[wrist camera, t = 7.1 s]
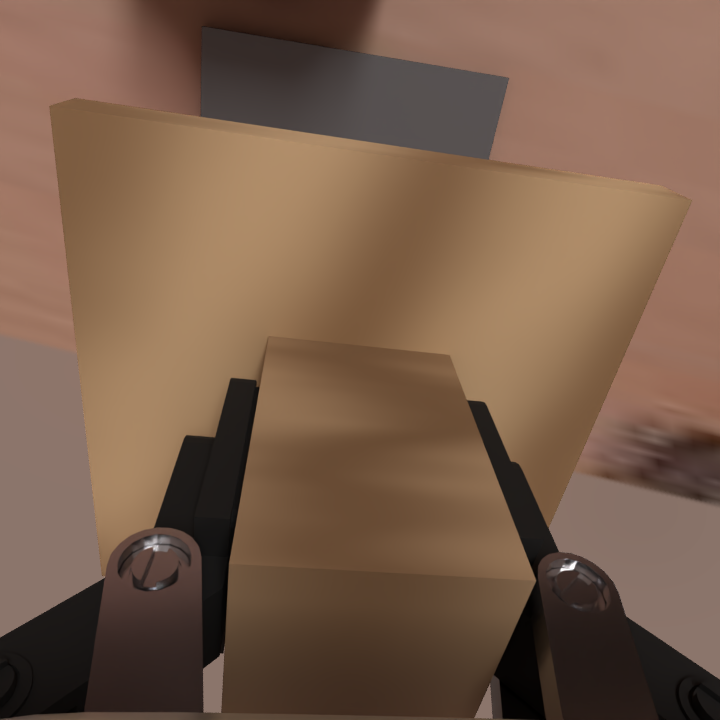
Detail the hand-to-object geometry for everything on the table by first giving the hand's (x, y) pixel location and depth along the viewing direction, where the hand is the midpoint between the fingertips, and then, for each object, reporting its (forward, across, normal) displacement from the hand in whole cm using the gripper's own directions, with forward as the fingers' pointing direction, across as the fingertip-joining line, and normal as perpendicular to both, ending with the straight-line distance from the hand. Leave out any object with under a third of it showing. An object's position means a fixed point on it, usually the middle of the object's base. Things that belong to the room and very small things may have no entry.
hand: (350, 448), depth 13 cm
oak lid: (+2, 0, 0) cm, 2 cm away
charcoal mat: (+20, 0, 0) cm, 20 cm away
